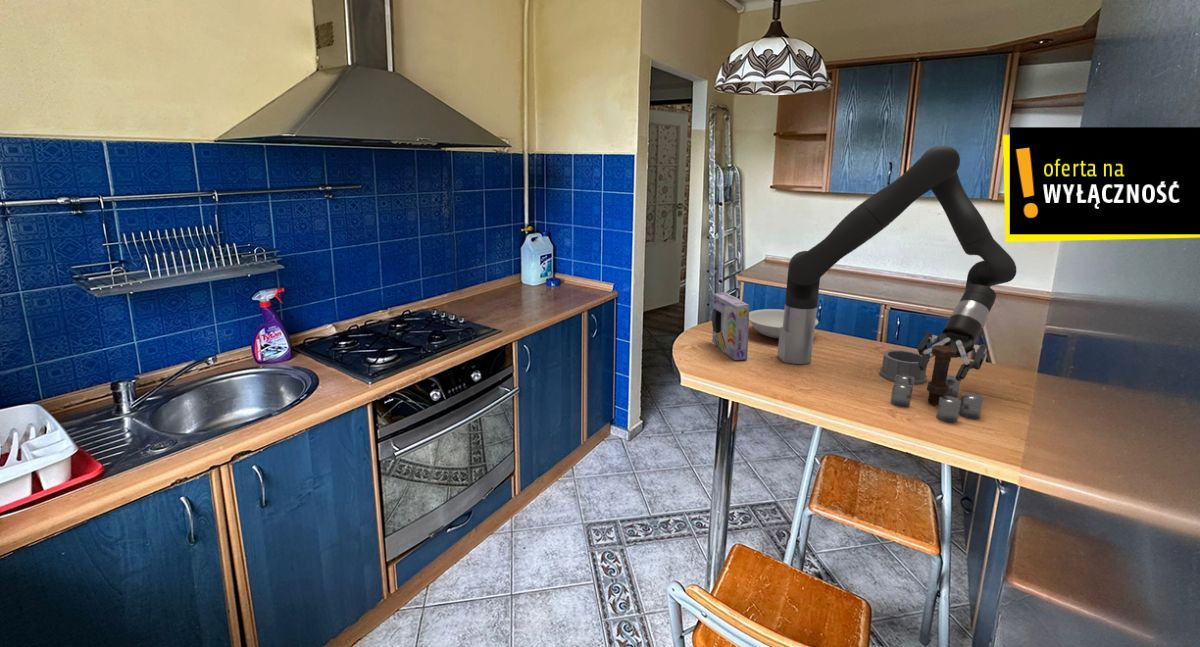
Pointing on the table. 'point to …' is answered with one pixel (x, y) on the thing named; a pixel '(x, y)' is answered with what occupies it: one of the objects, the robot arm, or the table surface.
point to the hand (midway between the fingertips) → (939, 374)
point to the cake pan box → (730, 325)
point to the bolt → (940, 372)
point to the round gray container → (902, 365)
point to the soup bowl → (768, 321)
